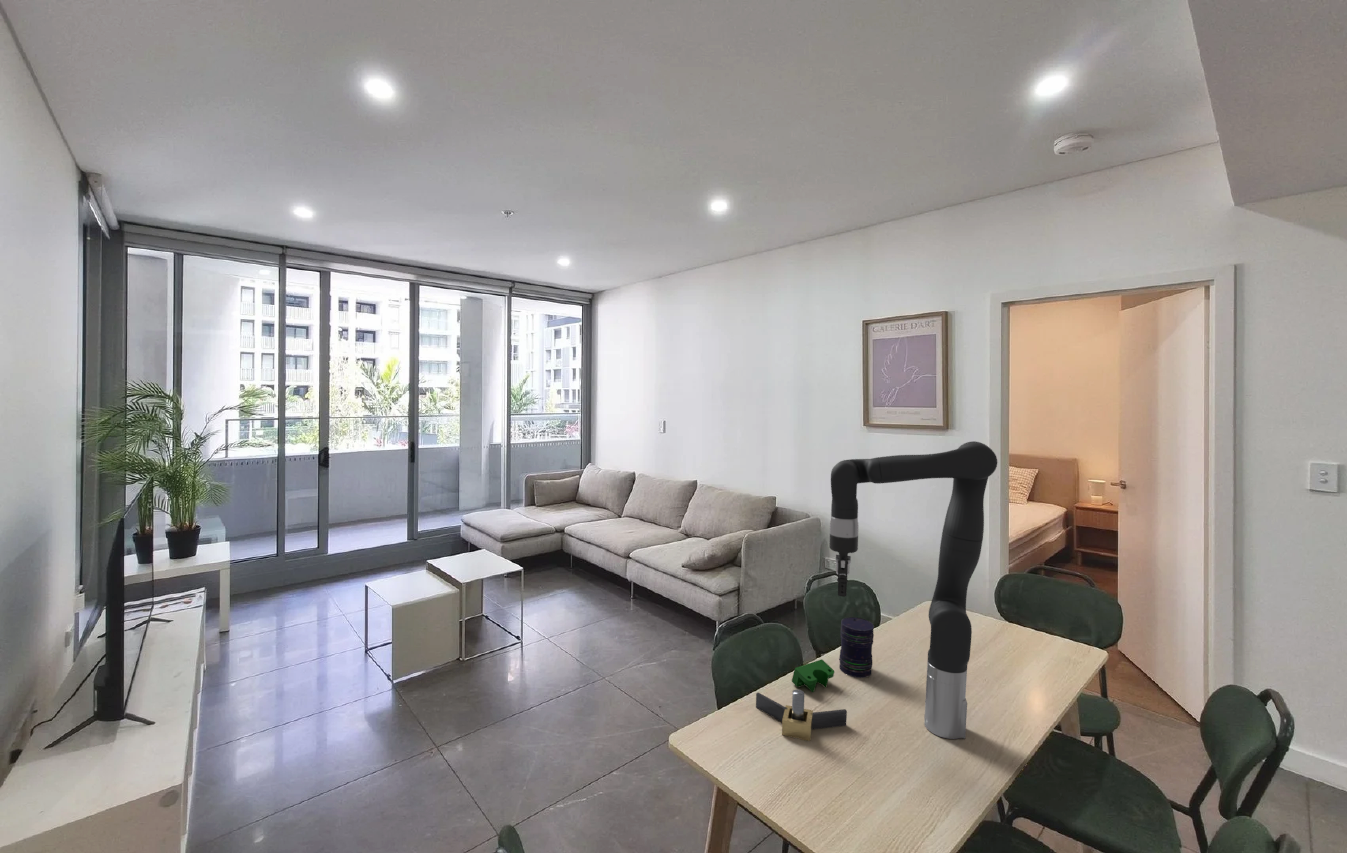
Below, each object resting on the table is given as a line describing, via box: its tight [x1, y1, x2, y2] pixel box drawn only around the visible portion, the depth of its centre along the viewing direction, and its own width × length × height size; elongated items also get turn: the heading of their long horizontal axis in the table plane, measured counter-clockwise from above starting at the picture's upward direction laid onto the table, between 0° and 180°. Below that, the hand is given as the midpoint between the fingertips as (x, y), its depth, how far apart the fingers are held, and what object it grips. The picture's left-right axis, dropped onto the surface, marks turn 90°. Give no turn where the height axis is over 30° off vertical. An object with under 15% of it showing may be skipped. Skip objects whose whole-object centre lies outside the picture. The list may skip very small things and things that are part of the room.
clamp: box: [791, 659, 835, 693], centre depth 163 cm, size 12×6×9 cm, turn 113°
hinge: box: [755, 692, 848, 742], centre depth 143 cm, size 24×11×4 cm, turn 72°
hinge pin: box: [791, 689, 805, 721], centre depth 141 cm, size 3×3×10 cm
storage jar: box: [838, 616, 875, 679], centre depth 173 cm, size 10×10×15 cm
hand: (842, 590), depth 153 cm, fingers open, 8 cm apart
